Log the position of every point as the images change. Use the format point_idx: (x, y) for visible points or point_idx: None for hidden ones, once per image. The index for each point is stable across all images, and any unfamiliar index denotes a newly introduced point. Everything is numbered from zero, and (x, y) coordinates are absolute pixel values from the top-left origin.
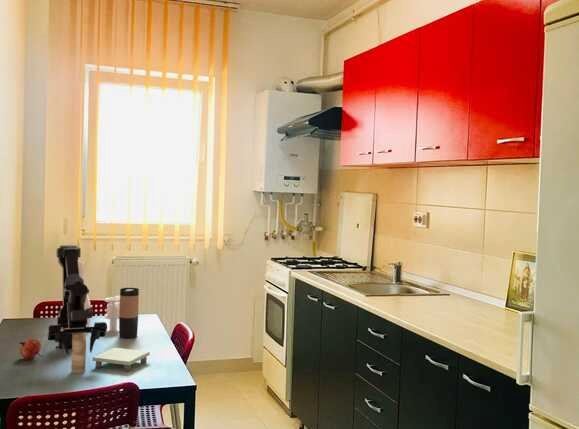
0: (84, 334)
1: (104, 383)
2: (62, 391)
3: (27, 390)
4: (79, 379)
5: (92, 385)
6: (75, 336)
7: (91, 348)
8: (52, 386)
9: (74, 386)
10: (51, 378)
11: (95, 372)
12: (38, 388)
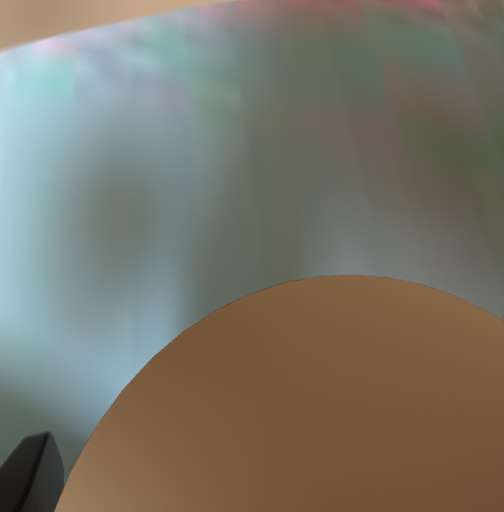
0: (129, 499)
1: (11, 86)
2: (286, 4)
3: (486, 59)
4: (202, 208)
5: (103, 64)
6: (461, 318)
7: (15, 468)
8: (365, 96)
9: (224, 69)
10: (419, 267)
11: (59, 399)
12: (437, 78)
